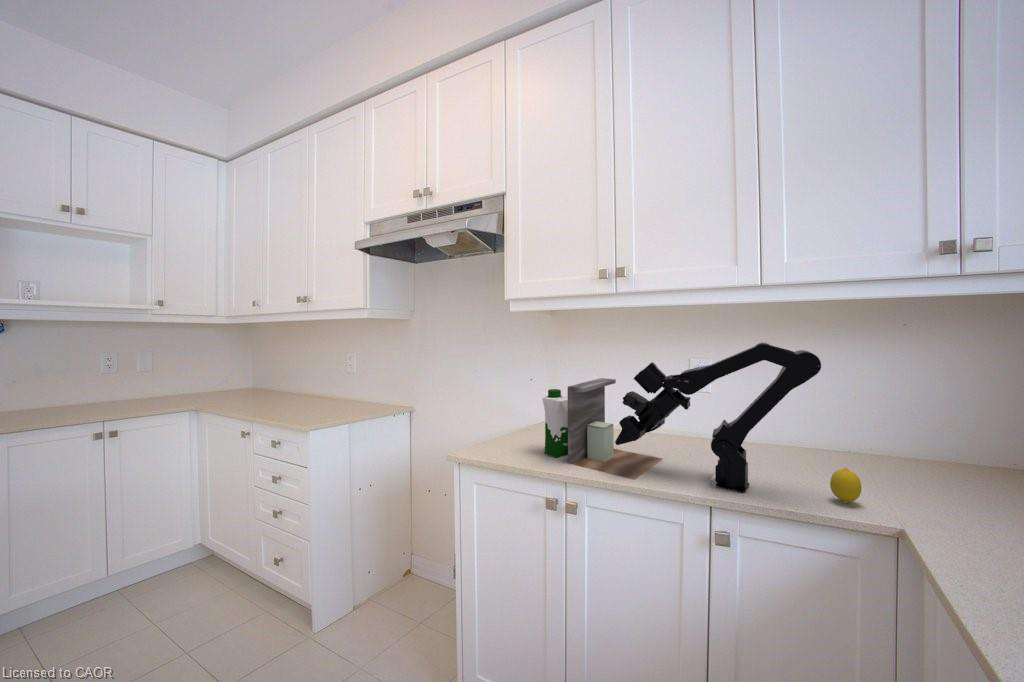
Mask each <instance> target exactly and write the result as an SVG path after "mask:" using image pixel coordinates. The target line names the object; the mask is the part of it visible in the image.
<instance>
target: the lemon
mask: <svg viewBox="0 0 1024 682" xmlns="http://www.w3.org/2000/svg"><path fill="white" fill-rule="evenodd" d="M829 484H830V487H829V488H830V489H831V492H832V494H833V495H834V496H835V497H836V498H837V499H839V500H840V501H841V502H842V503H844V502H846V503H845V504H847V503H849V502H853V501H856V500H858V498H859V497H860V496H861V493H862V482H861V480H860V477H859V476H858V475H857V474H856V473H855V472H854V471H852V470H850V469H849V468H847V467H843V468H841V469H837V470H835V471H834V472H833V473H832V474H831V477H830V482H829Z"/></svg>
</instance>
